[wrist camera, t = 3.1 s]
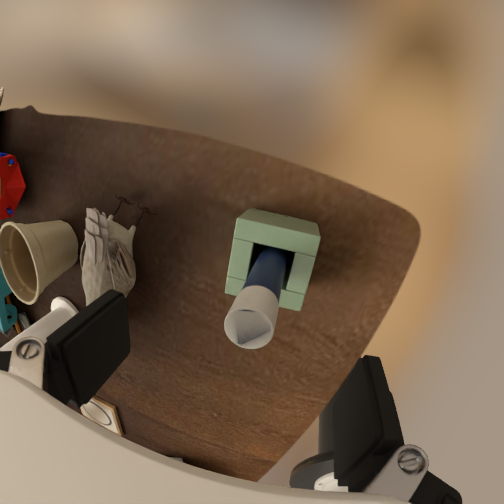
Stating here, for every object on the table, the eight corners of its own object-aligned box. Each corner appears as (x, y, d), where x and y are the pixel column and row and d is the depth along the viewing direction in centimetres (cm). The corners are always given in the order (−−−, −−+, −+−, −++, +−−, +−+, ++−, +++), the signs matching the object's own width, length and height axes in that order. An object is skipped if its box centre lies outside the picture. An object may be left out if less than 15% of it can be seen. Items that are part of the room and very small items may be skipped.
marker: (292, 238, 24) (279, 314, 12) (286, 262, 25) (267, 354, 12) (266, 232, 24) (227, 301, 12) (261, 256, 25) (220, 341, 13)
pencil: (-2, 249, 34) (23, 336, 40) (-6, 250, 33) (19, 338, 39) (-2, 250, 34) (24, 339, 39) (-7, 251, 33) (20, 340, 39)
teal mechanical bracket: (-6, 283, 26) (-26, 250, 25) (3, 333, 32) (-17, 304, 32) (24, 263, 31) (2, 234, 31) (25, 315, 38) (5, 288, 38)
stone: (52, 375, 37) (42, 370, 38) (59, 369, 38) (49, 366, 40) (22, 313, 34) (15, 313, 36) (31, 309, 36) (22, 309, 38)
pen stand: (317, 222, 23) (321, 236, 19) (301, 285, 25) (300, 311, 21) (250, 207, 24) (236, 217, 19) (238, 270, 26) (224, 293, 21)
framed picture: (115, 406, 38) (112, 409, 37) (123, 433, 41) (121, 436, 40) (73, 382, 39) (70, 385, 38) (84, 412, 42) (82, 415, 42)
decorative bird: (102, 308, 31) (65, 337, 24) (122, 185, 26) (71, 195, 18) (135, 328, 31) (101, 363, 24) (164, 203, 25) (117, 219, 18)
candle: (91, 342, 34) (-18, 449, 10) (62, 333, 35) (-39, 421, 12) (77, 299, 32) (-55, 401, 8) (49, 293, 33) (-68, 376, 9)
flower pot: (54, 192, 28) (2, 205, 19) (98, 236, 28) (43, 260, 20) (39, 247, 31) (-5, 267, 23) (78, 290, 31) (34, 320, 23)
